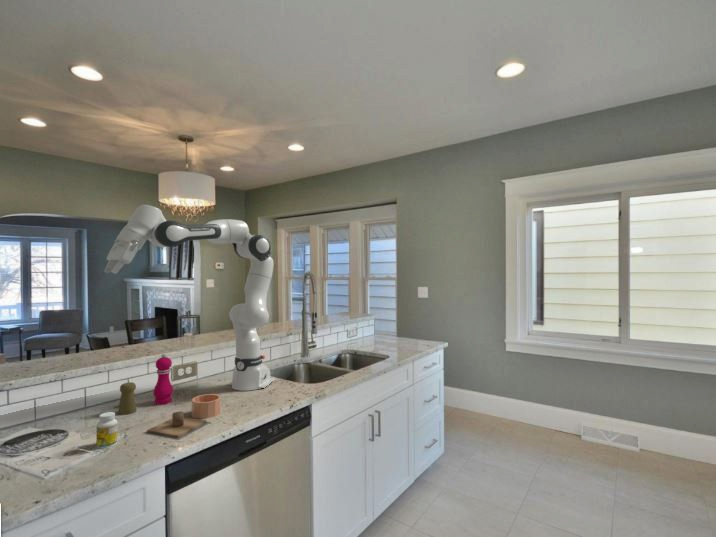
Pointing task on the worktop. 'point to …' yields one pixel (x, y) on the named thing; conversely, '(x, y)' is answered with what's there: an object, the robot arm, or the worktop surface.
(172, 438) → the mat
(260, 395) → the worktop surface
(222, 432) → the worktop surface
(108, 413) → the supplement bottle
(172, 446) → the worktop surface
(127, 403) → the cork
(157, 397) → the pepper mill
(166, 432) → the lid
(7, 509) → the worktop surface
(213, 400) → the bowl
